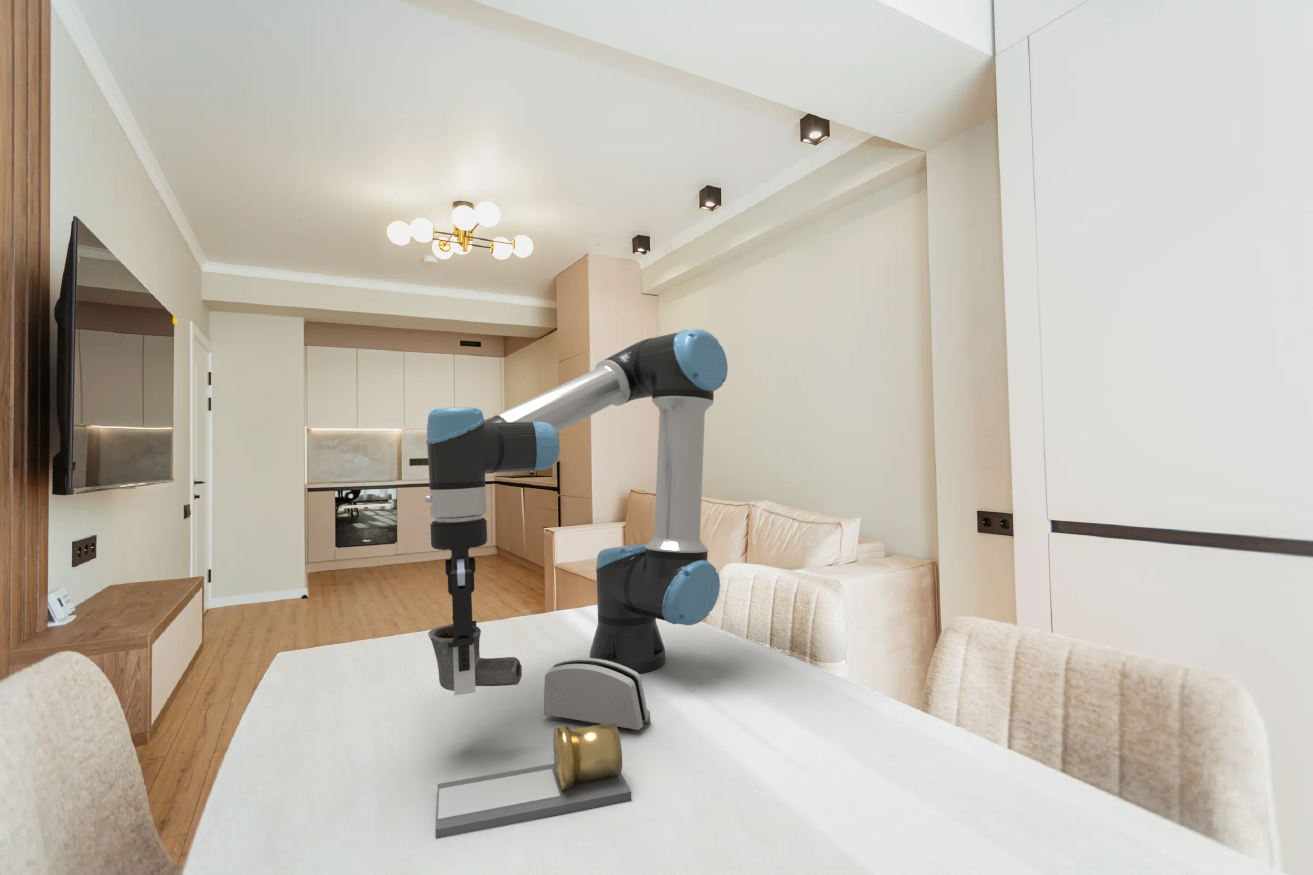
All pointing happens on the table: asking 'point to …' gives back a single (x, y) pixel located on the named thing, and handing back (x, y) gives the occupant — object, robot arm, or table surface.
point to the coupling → (586, 753)
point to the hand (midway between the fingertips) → (464, 683)
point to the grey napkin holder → (596, 693)
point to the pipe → (485, 668)
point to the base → (518, 799)
